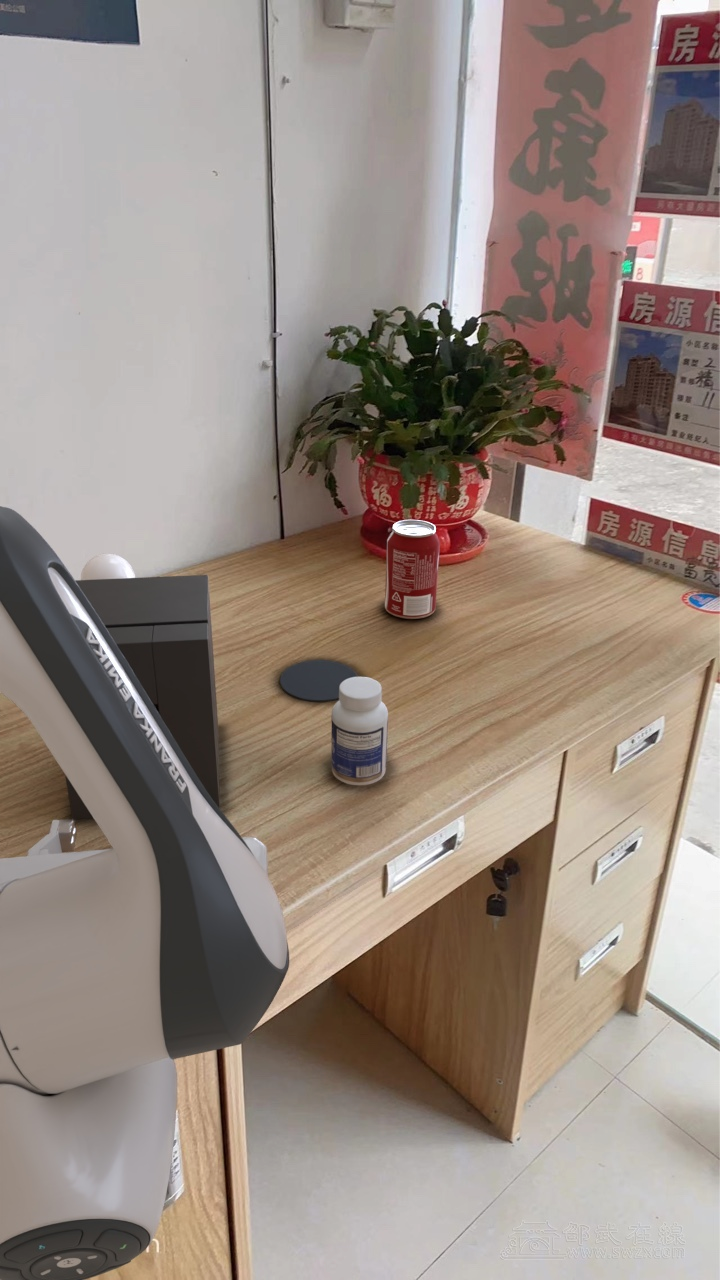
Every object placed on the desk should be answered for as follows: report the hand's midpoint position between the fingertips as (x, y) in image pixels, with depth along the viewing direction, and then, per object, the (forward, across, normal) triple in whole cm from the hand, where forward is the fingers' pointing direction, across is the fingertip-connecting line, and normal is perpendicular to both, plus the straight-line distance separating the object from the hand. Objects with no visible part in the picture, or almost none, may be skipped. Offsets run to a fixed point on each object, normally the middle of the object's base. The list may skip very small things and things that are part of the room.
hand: (124, 821), depth 64 cm
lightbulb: (+48, +6, +10) cm, 49 cm away
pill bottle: (+17, -20, +10) cm, 28 cm away
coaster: (+34, -18, +10) cm, 40 cm away
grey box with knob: (+19, 0, +10) cm, 22 cm away
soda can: (+51, -32, +10) cm, 61 cm away
